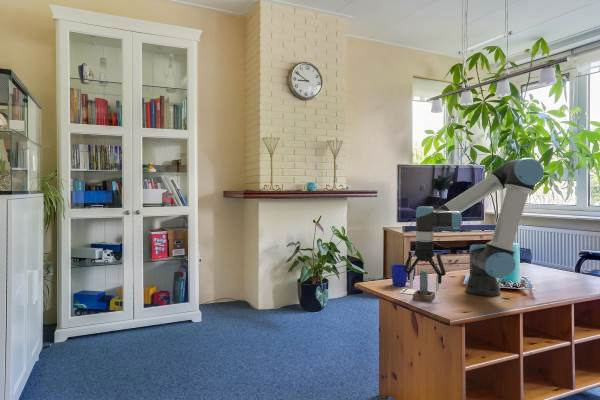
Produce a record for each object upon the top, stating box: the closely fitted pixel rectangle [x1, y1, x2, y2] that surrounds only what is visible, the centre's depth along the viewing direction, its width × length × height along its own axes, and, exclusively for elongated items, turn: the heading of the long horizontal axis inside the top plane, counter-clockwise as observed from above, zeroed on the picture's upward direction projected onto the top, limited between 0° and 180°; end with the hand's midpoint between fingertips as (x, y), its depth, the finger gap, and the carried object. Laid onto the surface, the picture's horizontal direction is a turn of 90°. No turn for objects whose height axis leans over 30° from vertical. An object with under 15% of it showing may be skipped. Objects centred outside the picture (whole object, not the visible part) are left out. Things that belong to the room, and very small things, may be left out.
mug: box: [390, 264, 416, 287], centre depth 204 cm, size 8×12×10 cm
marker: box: [419, 270, 429, 295], centre depth 179 cm, size 3×3×12 cm
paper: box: [398, 288, 418, 296], centre depth 189 cm, size 14×9×1 cm, turn 61°
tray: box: [412, 289, 436, 303], centre depth 179 cm, size 8×8×3 cm
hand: (424, 289), depth 179 cm, fingers open, 11 cm apart
